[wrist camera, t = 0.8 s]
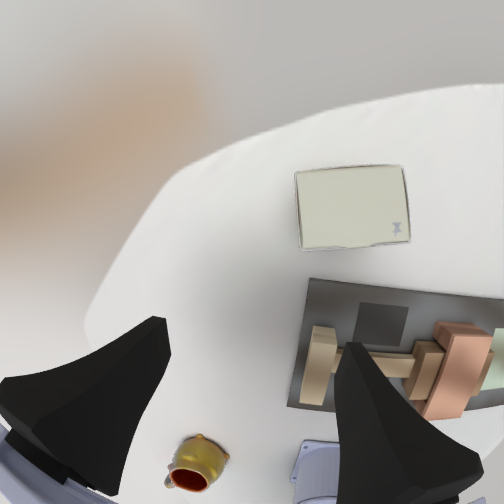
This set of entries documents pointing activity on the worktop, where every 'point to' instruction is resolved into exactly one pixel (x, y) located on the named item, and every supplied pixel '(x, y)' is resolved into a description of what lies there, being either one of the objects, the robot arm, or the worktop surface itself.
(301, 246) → the skincare box
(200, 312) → the worktop surface
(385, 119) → the worktop surface
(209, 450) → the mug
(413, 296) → the plate
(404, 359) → the tan wooden brick
